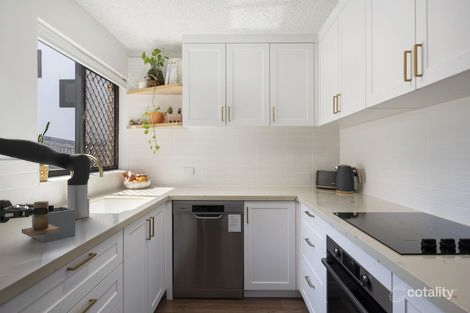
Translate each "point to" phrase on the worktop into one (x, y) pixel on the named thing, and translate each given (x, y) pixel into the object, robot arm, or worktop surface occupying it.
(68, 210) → the tub
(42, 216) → the wooden peg on base
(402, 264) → the worktop surface
